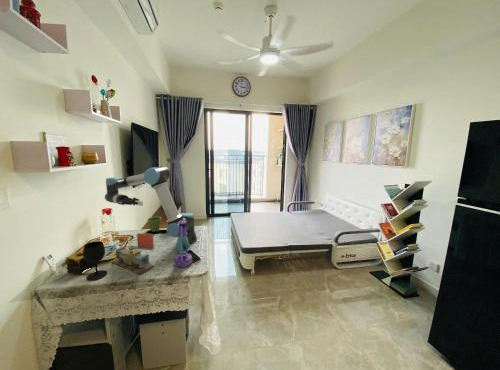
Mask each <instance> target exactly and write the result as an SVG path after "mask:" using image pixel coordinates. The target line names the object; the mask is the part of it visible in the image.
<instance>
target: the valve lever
mask: <svg viewBox="0 0 500 370" xmlns="http://www.w3.org/2000/svg"><path fill="white" fill-rule="evenodd" d="M136 239H137V245H134V244H133V245H131V244H130V245H128V247H127V249H128V250H131V249H136V250H143V251H154V250H155V244H154V234H150V233H149V234H148V233H137V234H136Z"/></svg>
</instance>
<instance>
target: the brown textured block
mask: <svg viewBox="0 0 500 370" xmlns="http://www.w3.org/2000/svg"><path fill="white" fill-rule="evenodd" d="M65 261H66V270H67V271H66V272H67V273H69V274H73V275H79V276H81V275H83V274H82V272H83V271H84V270H86V269H89V268H91V269H93V268H95V265H94V264H92V263H89V262H87V261H86V260H85V259H84V257H83V249H82V250H79V251H76V252H75V253H72V254H71V255H68V256H67V257H65Z"/></svg>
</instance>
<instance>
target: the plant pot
mask: <svg viewBox="0 0 500 370" xmlns="http://www.w3.org/2000/svg"><path fill="white" fill-rule="evenodd" d="M161 220H162V217H161V216H152V217H148V218H147V219H146V221H147V223H148V225H149V230H150V231H151V232H154V233H156V232H158V231H160V227H161ZM155 231H156V232H155Z"/></svg>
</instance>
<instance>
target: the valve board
mask: <svg viewBox="0 0 500 370" xmlns="http://www.w3.org/2000/svg"><path fill="white" fill-rule="evenodd" d="M111 264H113V265H115V266H118V267H120V268H122V269H124V270H127V271H129V272H131V273H134V274H136V275H138V276H142V275H143V274H145V273H147V272H149V270H152V269H154V268H155V265H154V264H151V263H149V264H147V265H146V266H144V267H142V268H140V269H137V268H136V267H135V264H134V265H132V266H131V265H129V264H126V263H124V262H123V263H122V262H120V261H119V258H118V259H117V258H115V259H114V260H112V261H111Z"/></svg>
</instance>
